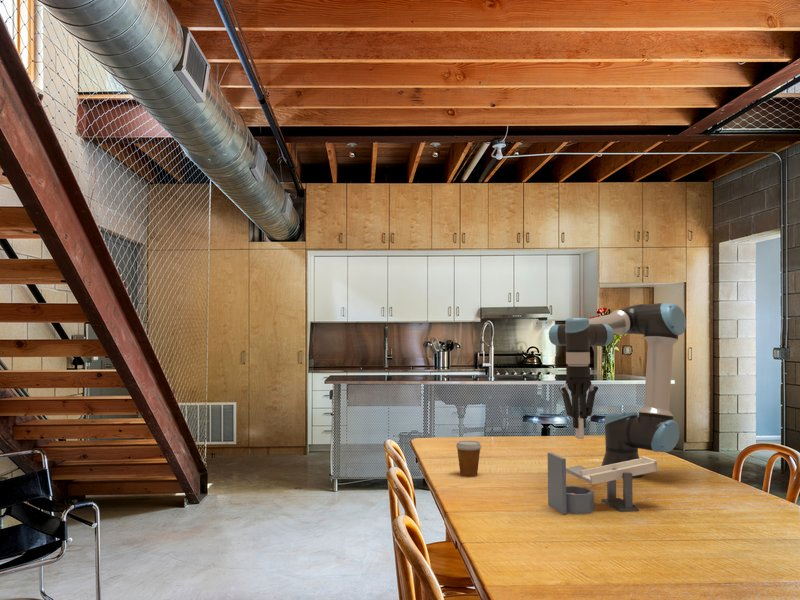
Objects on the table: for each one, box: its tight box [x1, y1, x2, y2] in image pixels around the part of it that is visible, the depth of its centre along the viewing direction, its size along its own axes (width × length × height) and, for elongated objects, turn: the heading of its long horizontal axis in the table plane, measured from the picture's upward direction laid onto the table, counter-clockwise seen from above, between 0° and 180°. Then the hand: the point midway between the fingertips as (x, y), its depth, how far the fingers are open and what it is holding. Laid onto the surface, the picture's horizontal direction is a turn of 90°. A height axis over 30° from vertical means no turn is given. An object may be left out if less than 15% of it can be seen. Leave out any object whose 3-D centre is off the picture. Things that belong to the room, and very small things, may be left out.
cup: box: [547, 452, 595, 515], centre depth 188 cm, size 12×11×16 cm
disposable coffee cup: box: [455, 440, 482, 478], centre depth 232 cm, size 10×10×12 cm
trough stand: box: [601, 473, 640, 513], centre depth 191 cm, size 6×11×11 cm, turn 11°
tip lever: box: [566, 455, 659, 486], centre depth 196 cm, size 22×18×4 cm
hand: (579, 438), depth 201 cm, fingers closed
